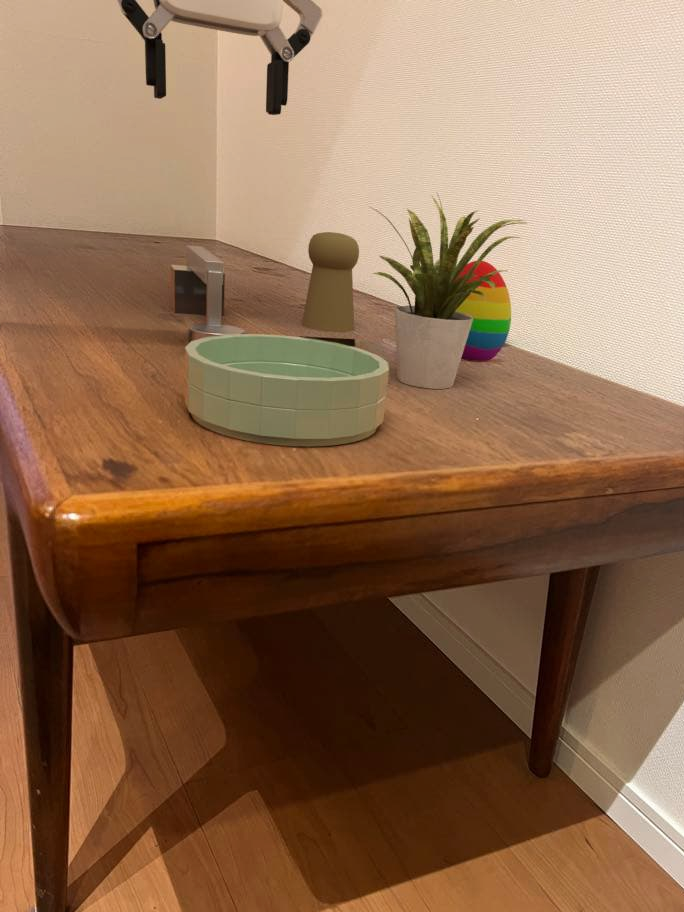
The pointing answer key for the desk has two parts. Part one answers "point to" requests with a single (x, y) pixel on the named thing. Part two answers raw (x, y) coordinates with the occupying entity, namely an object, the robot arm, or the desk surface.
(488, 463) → the desk surface
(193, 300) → the dark wooden cube
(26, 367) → the desk surface
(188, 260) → the silver stamp handle
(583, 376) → the desk surface
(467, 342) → the decorative egg
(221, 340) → the bowl
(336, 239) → the cork
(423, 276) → the house plant
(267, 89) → the robot arm
